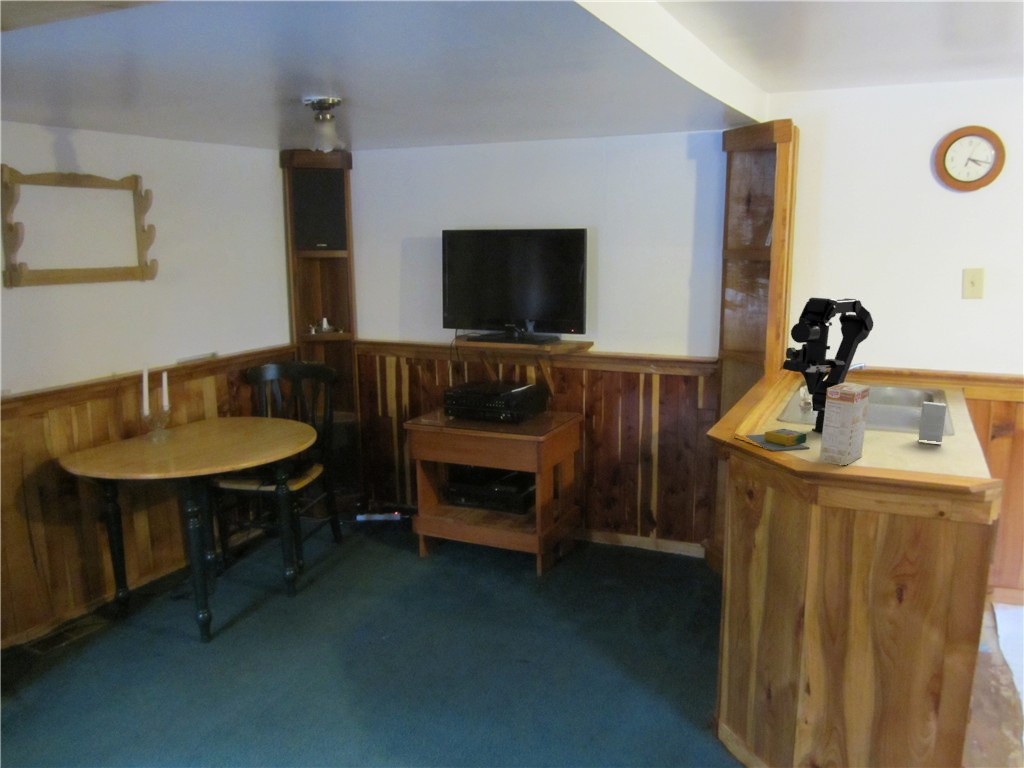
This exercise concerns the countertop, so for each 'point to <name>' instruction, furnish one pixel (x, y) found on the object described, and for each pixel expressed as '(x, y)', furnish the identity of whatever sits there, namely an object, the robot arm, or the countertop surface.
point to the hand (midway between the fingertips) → (811, 394)
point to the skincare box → (932, 421)
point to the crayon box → (784, 437)
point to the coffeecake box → (844, 423)
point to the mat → (760, 439)
